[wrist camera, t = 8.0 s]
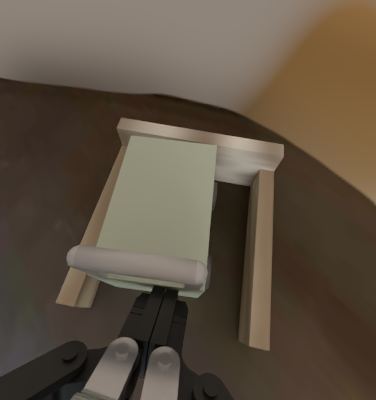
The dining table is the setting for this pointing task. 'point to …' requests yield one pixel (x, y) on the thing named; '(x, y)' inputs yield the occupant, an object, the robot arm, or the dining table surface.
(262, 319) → the birch bay
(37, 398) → the robot arm
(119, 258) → the sage trolley
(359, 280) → the dining table surface
